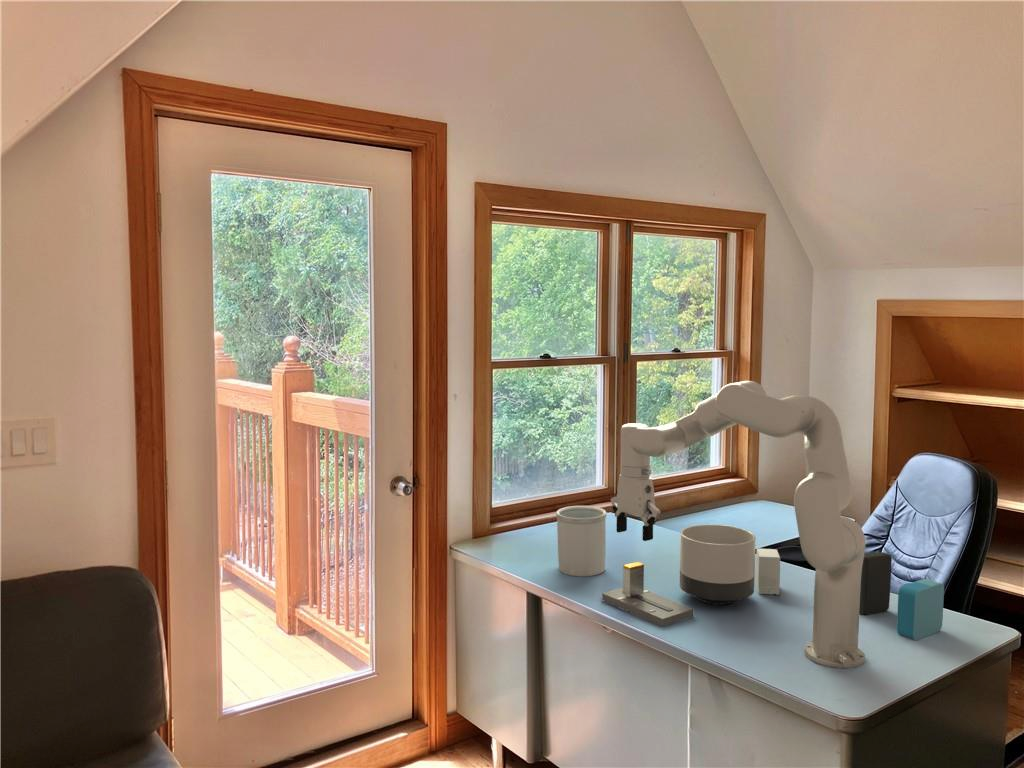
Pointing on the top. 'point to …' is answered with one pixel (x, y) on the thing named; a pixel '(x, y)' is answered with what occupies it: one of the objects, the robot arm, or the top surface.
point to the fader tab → (633, 579)
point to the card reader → (875, 583)
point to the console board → (649, 606)
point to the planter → (717, 563)
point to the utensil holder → (581, 540)
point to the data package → (920, 609)
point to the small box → (768, 571)
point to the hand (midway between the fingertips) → (634, 535)
